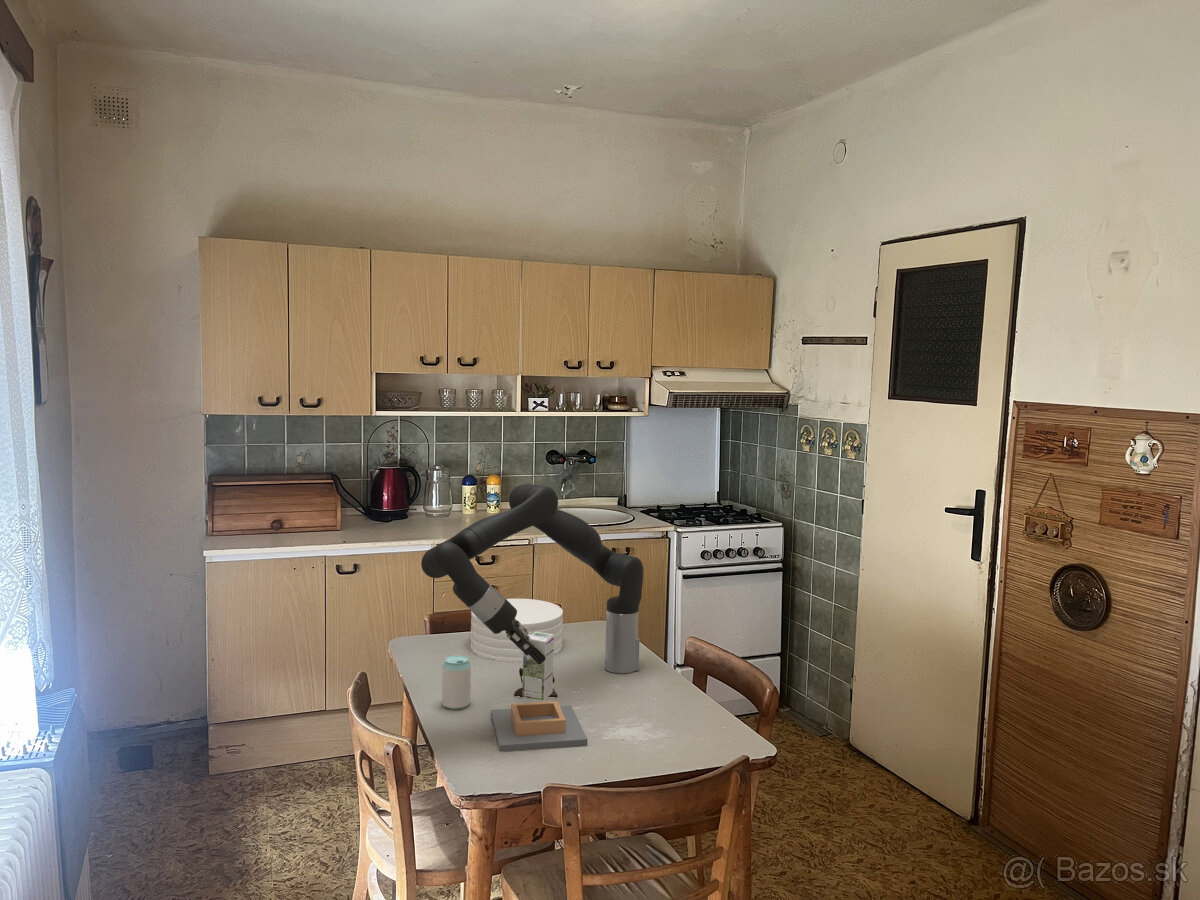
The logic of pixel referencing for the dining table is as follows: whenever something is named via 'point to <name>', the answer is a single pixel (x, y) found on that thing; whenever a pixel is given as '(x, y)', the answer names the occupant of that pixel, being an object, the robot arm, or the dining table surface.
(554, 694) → the clothes iron
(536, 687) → the syrup box
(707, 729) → the dining table surface
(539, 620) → the plate stack
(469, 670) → the can
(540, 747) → the collar stand
